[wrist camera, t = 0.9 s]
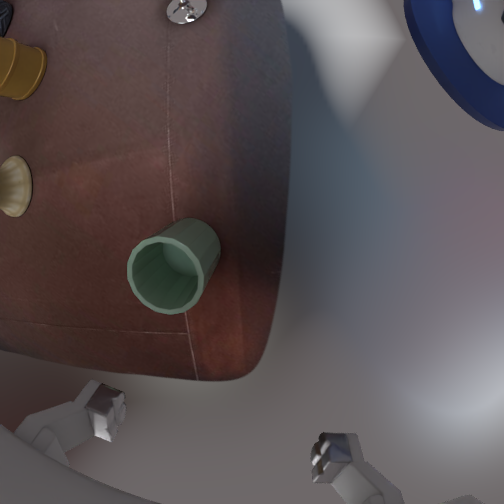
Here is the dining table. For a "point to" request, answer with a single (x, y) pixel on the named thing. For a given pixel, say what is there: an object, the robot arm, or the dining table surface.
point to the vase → (4, 16)
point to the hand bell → (15, 186)
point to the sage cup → (174, 265)
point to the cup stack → (20, 68)
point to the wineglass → (185, 10)
